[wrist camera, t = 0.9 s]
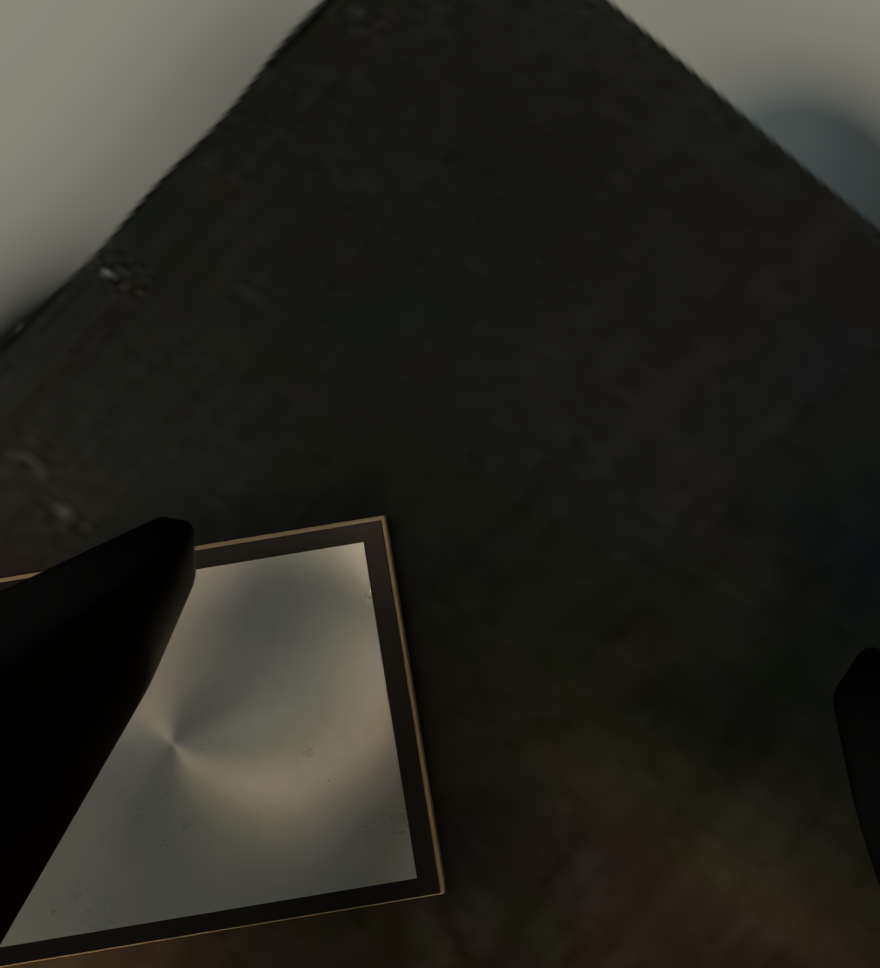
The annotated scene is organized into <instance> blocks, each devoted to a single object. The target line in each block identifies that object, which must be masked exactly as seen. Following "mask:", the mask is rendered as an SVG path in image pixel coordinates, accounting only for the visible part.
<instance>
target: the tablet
mask: <svg viewBox="0 0 880 968" xmlns="http://www.w3.org/2000/svg"><path fill="white" fill-rule="evenodd" d="M195 560H196V575H195V580H194V584H193V587H192V590H191V592H190V594H189V596H188V599H187V601H186V603H185V606H184V608H183V610H182V613H181V615H180V617H179V620H178V622H177V624H176V627H175V629H174V631H173V634H172V636H171V638H170V640H169V643H168V645H167V647H166V650H165V652H164V654H163V657H162V659H161V661H160V664H159V666H158V668H157V670H156V673H155V675H154V677H153V679H152V681H151V683H150V685H149V687H148V689H147V691H146V693H145V695H144V696H143V698H142V700H141V702H140V704H139V705H138V707H137V709H136V711H135V712H134V714H133V716H132V718H131V719H130V721H129V723H128V724H127V726H126V728H125V730H124V731H123V733H122V735H121V737H120V738H119V740H118V742H117V744H116V745H115V747H114V749H113V750H112V752H111V754H110V756H109V757H108V759H107V761H106V763H105V764H104V766H103V768H102V770H101V771H100V773H99V775H98V776H97V778H96V780H95V782H94V783H93V785H92V787H91V789H90V790H89V792H88V794H87V796H86V797H85V799H84V801H83V802H82V804H81V806H80V808H79V809H78V811H77V813H76V815H75V816H74V818H73V820H72V822H71V823H70V825H69V827H68V828H67V830H66V832H65V834H64V835H63V837H62V839H61V841H60V842H59V844H58V846H57V847H56V849H55V851H54V853H53V854H52V856H51V858H50V860H49V861H48V863H47V865H46V867H45V868H44V870H43V872H42V873H41V875H40V877H39V879H38V880H37V882H36V884H35V886H34V887H33V889H32V891H31V893H30V894H29V896H28V898H27V899H26V901H25V903H24V905H23V906H22V908H21V910H20V912H19V913H18V915H17V917H16V919H15V920H14V922H13V924H12V925H11V927H10V929H9V931H8V932H7V934H6V936H5V938H4V939H3V941H2V943H1V945H0V967H6V966H12V965H18V964H24V963H30V962H36V961H42V960H48V959H54V958H60V957H66V956H72V955H78V954H84V953H90V952H96V951H102V950H108V949H114V948H120V947H126V946H132V945H138V944H144V943H150V942H156V941H162V940H168V939H174V938H180V937H186V936H192V935H198V934H204V933H210V932H216V931H222V930H228V929H234V928H241V927H247V926H253V925H259V924H265V923H271V922H277V921H283V920H289V919H295V918H301V917H307V916H313V915H319V914H325V913H331V912H337V911H343V910H349V909H355V908H361V907H367V906H373V905H379V904H385V903H391V902H397V901H403V900H409V899H415V898H421V897H427V896H433V895H439V894H444V893H445V876H444V870H443V863H442V857H441V851H440V845H439V839H438V832H437V826H436V820H435V814H434V807H433V801H432V795H431V789H430V783H429V776H428V770H427V764H426V758H425V752H424V745H423V739H422V733H421V727H420V720H419V714H418V708H417V702H416V696H415V689H414V683H413V677H412V671H411V665H410V658H409V652H408V646H407V640H406V633H405V627H404V621H403V615H402V609H401V602H400V596H399V590H398V584H397V578H396V571H395V565H394V559H393V553H392V547H391V540H390V534H389V528H388V522H387V517H386V516H385V515H382V516H376V517H370V518H364V519H357V520H351V521H345V522H339V523H333V524H327V525H321V526H315V527H309V528H303V529H297V530H291V531H284V532H278V533H272V534H266V535H260V536H254V537H248V538H242V539H236V540H230V541H224V542H218V543H212V544H205V545H199V546H195ZM41 572H43V571H41ZM41 572H35V573H29V574H23V575H17V576H11V577H5V578H0V591H2V590H4V589H6V588H9V587H11V586H13V585H15V584H17V583H19V582H21V581H23V580H26V579H28V578H30V577H32V576H34V575H36V574H38V573H41Z"/></svg>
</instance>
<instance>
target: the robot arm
mask: <svg viewBox="0 0 880 968" xmlns="http://www.w3.org/2000/svg"><path fill="white" fill-rule="evenodd" d="M195 575H196V560H195V541H194V530H193V527H192V525H191V524H190V523H189V522H188V521H184V520H178V519H173V518H167V517H159V518H156V519H154V520H152V521H150V522H147V523H145V524H143V525H141V526H139V527H137V528H135V529H132V530H130V531H128V532H126V533H124V534H122V535H120V536H118V537H115V538H113V539H111V540H109V541H107V542H105V543H103V544H100V545H98V546H96V547H94V548H92V549H90V550H88V551H85V552H83V553H81V554H79V555H77V556H75V557H73V558H70V559H68V560H66V561H64V562H62V563H60V564H58V565H56V566H53V567H51V568H49V569H47V570H45V571H43V572H41V573H38V574H36V575H34V576H32V577H30V578H28V579H26V580H23V581H21V582H19V583H17V584H15V585H13V586H11V587H9V588H6V589H4V590H2V591H0V945H1V943H2V941H3V939H4V938H5V936H6V934H7V932H8V931H9V929H10V927H11V925H12V924H13V922H14V920H15V919H16V917H17V915H18V913H19V912H20V910H21V908H22V906H23V905H24V903H25V901H26V899H27V898H28V896H29V894H30V893H31V891H32V889H33V887H34V886H35V884H36V882H37V880H38V879H39V877H40V875H41V873H42V872H43V870H44V868H45V867H46V865H47V863H48V861H49V860H50V858H51V856H52V854H53V853H54V851H55V849H56V847H57V846H58V844H59V842H60V841H61V839H62V837H63V835H64V834H65V832H66V830H67V828H68V827H69V825H70V823H71V822H72V820H73V818H74V816H75V815H76V813H77V811H78V809H79V808H80V806H81V804H82V802H83V801H84V799H85V797H86V796H87V794H88V792H89V790H90V789H91V787H92V785H93V783H94V782H95V780H96V778H97V776H98V775H99V773H100V771H101V770H102V768H103V766H104V764H105V763H106V761H107V759H108V757H109V756H110V754H111V752H112V750H113V749H114V747H115V745H116V744H117V742H118V740H119V738H120V737H121V735H122V733H123V731H124V730H125V728H126V726H127V724H128V723H129V721H130V719H131V718H132V716H133V714H134V712H135V711H136V709H137V707H138V705H139V704H140V702H141V700H142V698H143V696H144V695H145V693H146V691H147V689H148V687H149V685H150V683H151V681H152V679H153V677H154V675H155V673H156V670H157V668H158V666H159V664H160V661H161V659H162V657H163V654H164V652H165V650H166V647H167V645H168V643H169V640H170V638H171V636H172V634H173V631H174V629H175V627H176V624H177V622H178V620H179V617H180V615H181V613H182V610H183V608H184V606H185V603H186V601H187V599H188V596H189V594H190V592H191V590H192V587H193V584H194V580H195ZM833 706H834V712H835V716H836V721H837V726H838V730H839V735H840V740H841V745H842V749H843V754H844V759H845V763H846V768H847V773H848V777H849V782H850V787H851V791H852V796H853V800H854V804H855V809H856V813H857V817H858V820H859V823H860V827H861V830H862V834H863V837H864V840H865V843H866V846H867V849H868V852H869V855H870V858H871V862H872V865H873V868H874V871H875V874H876V877H877V880H878V883H879V886H880V649H878V648H866V649H864V650H863V651H861V652H860V653H859V654H858V656H857V657H856V659H855V660H854V662H853V663H852V665H851V666H850V668H849V669H848V671H847V672H846V674H845V675H844V677H843V678H842V680H841V681H840V683H839V684H838V686H837V688H836V690H835V693H834V698H833Z"/></svg>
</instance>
